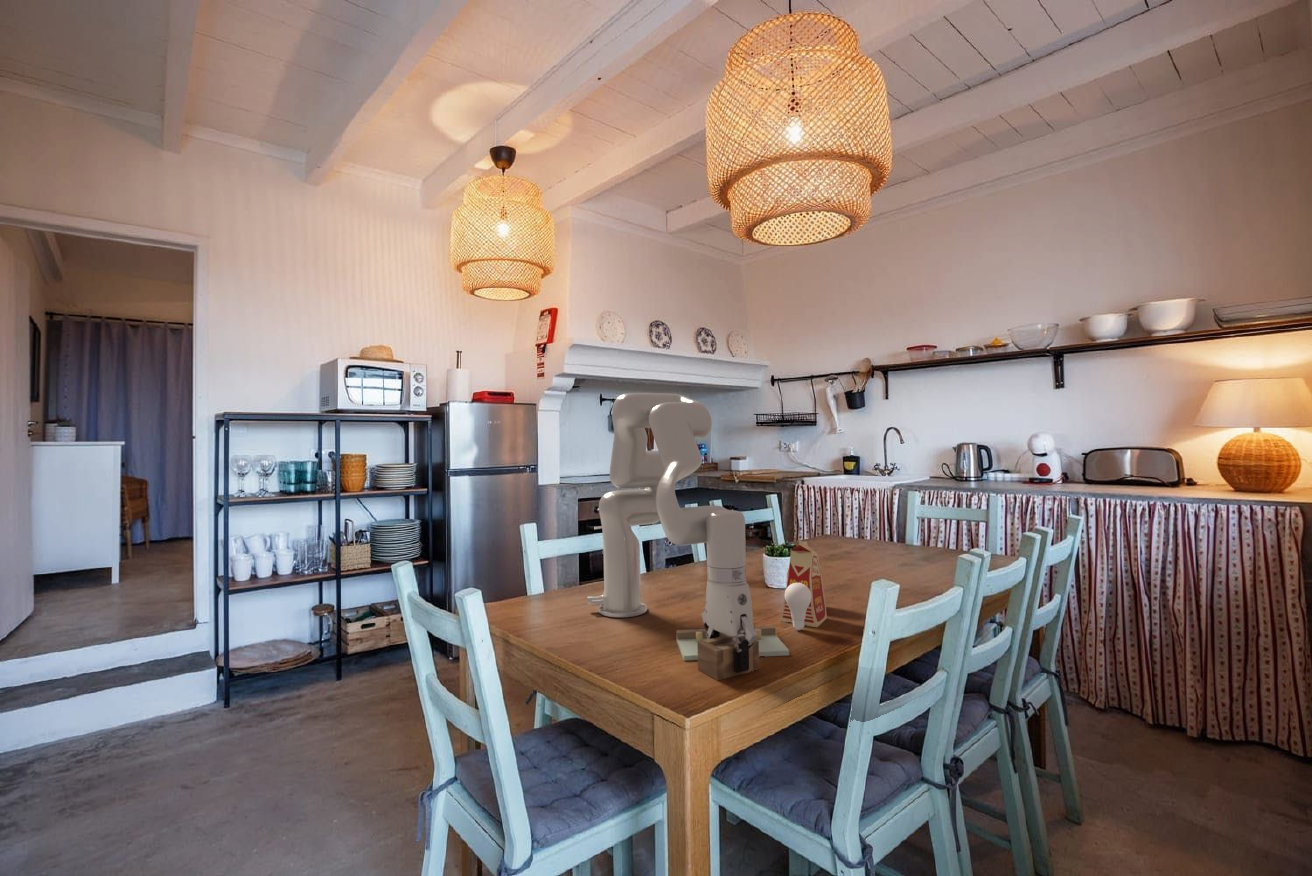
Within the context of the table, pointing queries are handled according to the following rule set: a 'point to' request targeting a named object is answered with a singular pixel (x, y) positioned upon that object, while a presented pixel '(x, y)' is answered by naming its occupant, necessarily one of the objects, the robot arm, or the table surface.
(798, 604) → the lightbulb
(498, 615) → the table surface
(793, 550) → the milk carton
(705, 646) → the wooden box
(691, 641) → the board
